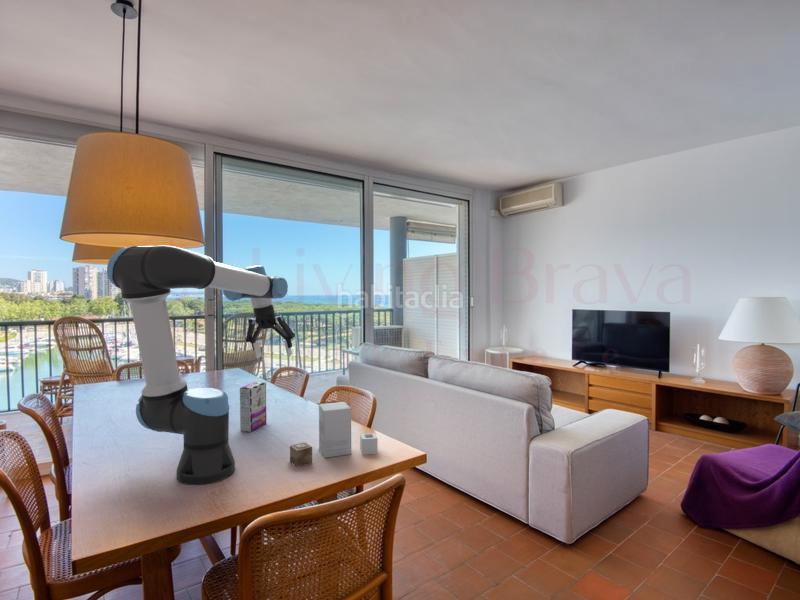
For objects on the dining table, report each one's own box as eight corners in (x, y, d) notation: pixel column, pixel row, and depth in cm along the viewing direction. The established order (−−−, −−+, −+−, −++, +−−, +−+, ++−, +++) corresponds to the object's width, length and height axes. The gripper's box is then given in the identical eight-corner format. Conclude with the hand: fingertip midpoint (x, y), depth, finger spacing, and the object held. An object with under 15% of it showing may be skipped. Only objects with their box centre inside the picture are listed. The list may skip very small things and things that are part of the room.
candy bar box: (255, 422, 168) (255, 381, 168) (266, 423, 167) (266, 381, 167) (239, 431, 157) (239, 387, 157) (251, 432, 156) (251, 388, 156)
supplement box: (345, 445, 144) (345, 401, 144) (351, 454, 136) (352, 407, 136) (318, 448, 141) (318, 403, 141) (323, 458, 133) (323, 410, 132)
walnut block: (296, 467, 126) (296, 449, 126) (289, 461, 130) (289, 445, 130) (312, 463, 129) (312, 446, 129) (305, 458, 133) (305, 441, 133)
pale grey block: (361, 454, 136) (362, 438, 136) (360, 449, 141) (360, 433, 141) (377, 453, 137) (377, 437, 137) (375, 448, 142) (375, 432, 142)
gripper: (296, 300, 165) (307, 351, 170) (239, 305, 171) (251, 354, 176) (287, 305, 158) (298, 358, 163) (228, 310, 164) (241, 361, 169)
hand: (274, 356), depth 170 cm, fingers open, 13 cm apart
